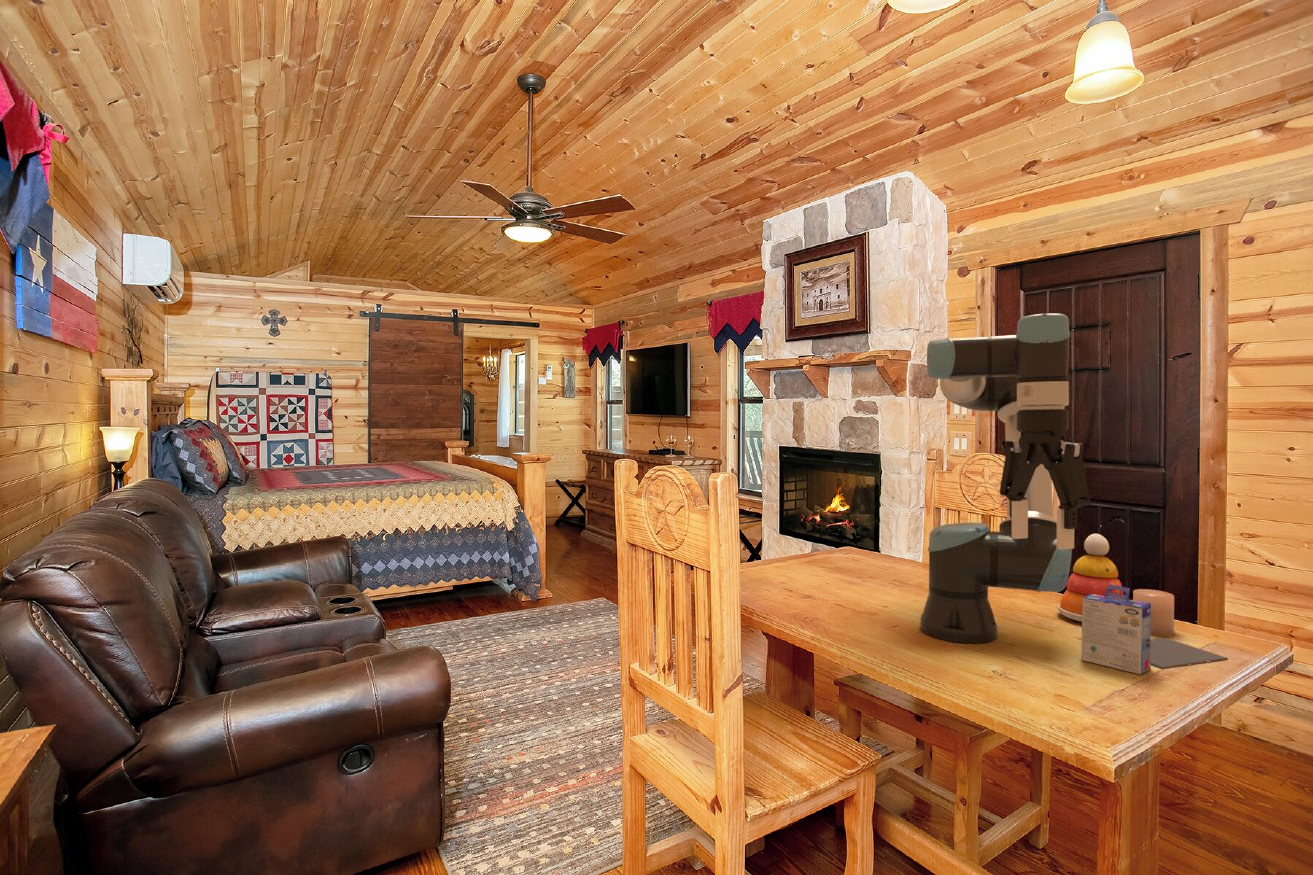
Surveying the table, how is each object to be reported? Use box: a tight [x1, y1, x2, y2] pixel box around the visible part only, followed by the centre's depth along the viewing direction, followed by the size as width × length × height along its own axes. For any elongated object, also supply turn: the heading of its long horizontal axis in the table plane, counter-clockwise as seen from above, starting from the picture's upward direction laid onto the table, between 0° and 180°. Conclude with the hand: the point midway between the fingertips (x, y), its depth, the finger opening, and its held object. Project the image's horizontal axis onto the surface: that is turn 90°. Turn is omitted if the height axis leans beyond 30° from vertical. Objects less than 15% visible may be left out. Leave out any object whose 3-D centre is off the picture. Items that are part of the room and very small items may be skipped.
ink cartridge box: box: [1080, 585, 1152, 675], centre depth 123 cm, size 10×6×14 cm, turn 39°
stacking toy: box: [1056, 533, 1125, 623], centre depth 149 cm, size 14×14×20 cm
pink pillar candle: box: [1132, 588, 1175, 637], centre depth 141 cm, size 7×7×8 cm
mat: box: [1150, 636, 1229, 670], centre depth 128 cm, size 12×16×1 cm
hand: (1041, 542), depth 110 cm, fingers open, 9 cm apart
